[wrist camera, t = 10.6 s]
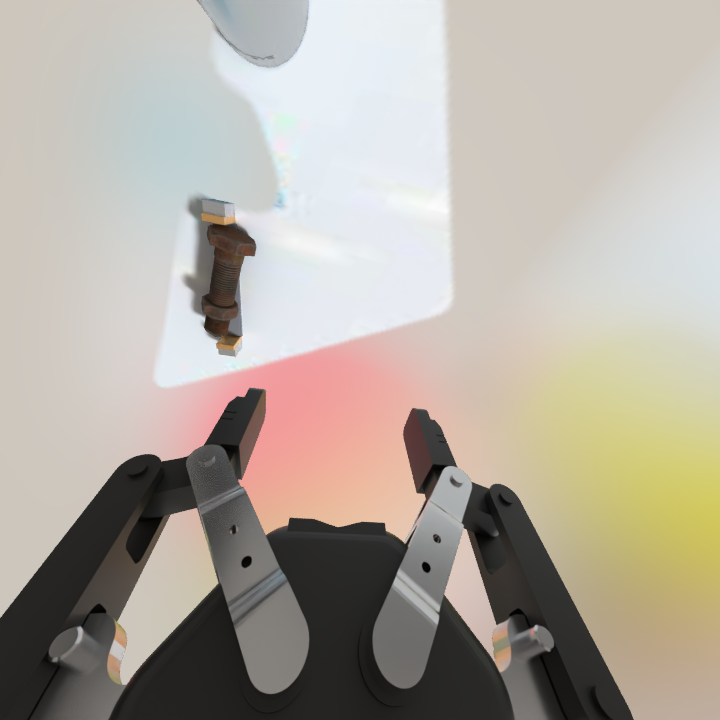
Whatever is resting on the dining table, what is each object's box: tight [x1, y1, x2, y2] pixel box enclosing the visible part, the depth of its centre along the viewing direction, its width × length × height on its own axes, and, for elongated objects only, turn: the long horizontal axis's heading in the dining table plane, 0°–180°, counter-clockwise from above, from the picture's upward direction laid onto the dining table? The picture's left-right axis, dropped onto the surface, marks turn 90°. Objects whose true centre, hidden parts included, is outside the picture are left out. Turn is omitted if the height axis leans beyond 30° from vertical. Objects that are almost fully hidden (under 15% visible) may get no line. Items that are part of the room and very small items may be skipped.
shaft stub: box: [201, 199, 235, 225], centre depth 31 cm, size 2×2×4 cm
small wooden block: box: [216, 334, 242, 357], centre depth 41 cm, size 2×2×4 cm
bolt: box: [202, 224, 256, 337], centre depth 35 cm, size 6×5×15 cm
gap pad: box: [213, 223, 242, 336], centre depth 37 cm, size 17×3×1 cm, turn 169°
